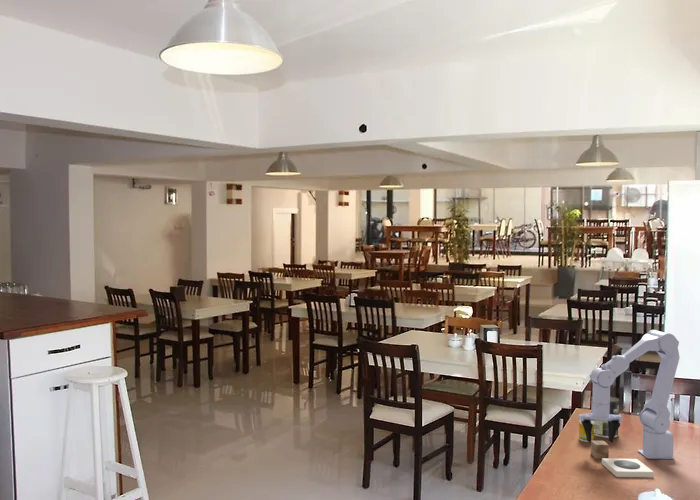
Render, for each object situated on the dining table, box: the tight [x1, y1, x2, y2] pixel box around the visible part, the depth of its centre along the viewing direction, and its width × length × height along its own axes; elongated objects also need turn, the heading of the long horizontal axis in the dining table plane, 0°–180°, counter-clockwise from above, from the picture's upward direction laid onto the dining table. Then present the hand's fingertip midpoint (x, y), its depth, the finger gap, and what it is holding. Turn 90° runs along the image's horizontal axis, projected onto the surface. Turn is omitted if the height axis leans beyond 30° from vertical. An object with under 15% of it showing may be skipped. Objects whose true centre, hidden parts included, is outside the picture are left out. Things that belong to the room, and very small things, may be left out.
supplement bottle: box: [578, 420, 595, 443], centre depth 246 cm, size 5×5×10 cm
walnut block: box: [590, 440, 610, 460], centre depth 228 cm, size 4×4×5 cm
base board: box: [601, 457, 655, 478], centre depth 216 cm, size 12×12×2 cm
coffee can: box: [590, 395, 620, 439], centre depth 254 cm, size 10×10×14 cm
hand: (599, 441), depth 228 cm, fingers open, 7 cm apart
